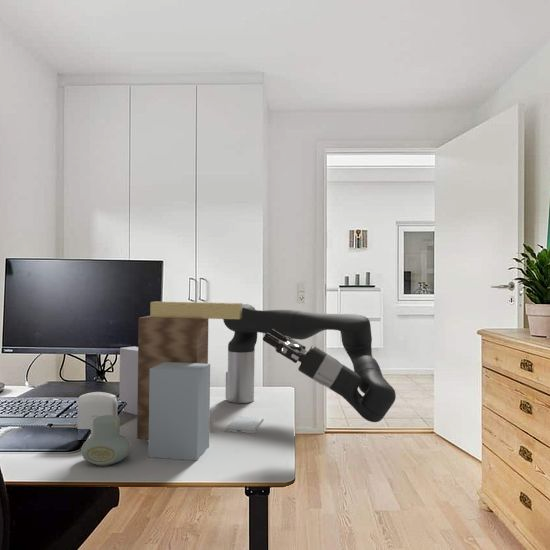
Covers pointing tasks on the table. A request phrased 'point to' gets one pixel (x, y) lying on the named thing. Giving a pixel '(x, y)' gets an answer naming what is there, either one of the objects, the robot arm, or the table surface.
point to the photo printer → (94, 408)
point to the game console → (129, 378)
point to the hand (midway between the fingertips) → (267, 334)
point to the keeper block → (179, 410)
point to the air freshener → (106, 442)
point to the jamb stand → (166, 354)
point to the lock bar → (196, 310)
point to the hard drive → (244, 424)
